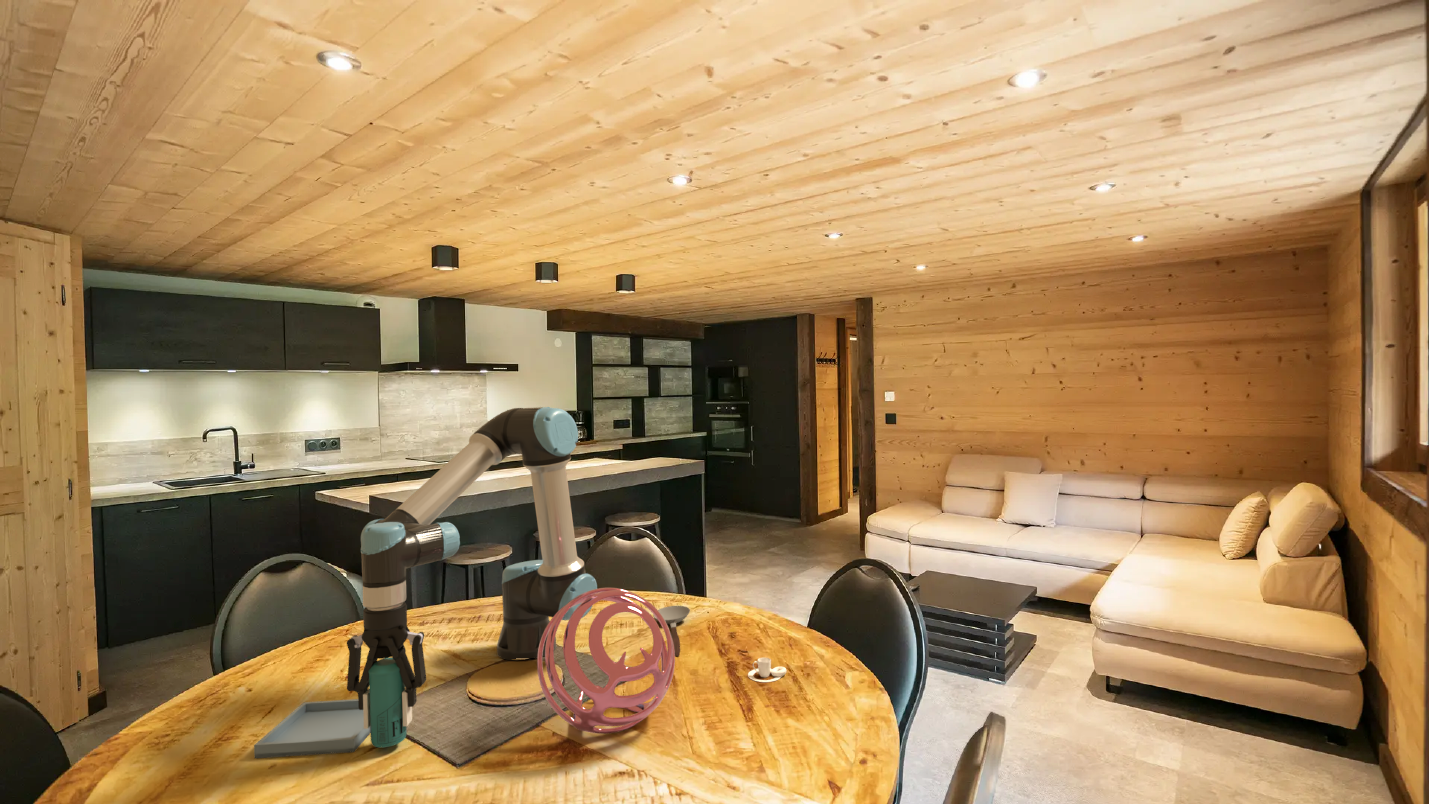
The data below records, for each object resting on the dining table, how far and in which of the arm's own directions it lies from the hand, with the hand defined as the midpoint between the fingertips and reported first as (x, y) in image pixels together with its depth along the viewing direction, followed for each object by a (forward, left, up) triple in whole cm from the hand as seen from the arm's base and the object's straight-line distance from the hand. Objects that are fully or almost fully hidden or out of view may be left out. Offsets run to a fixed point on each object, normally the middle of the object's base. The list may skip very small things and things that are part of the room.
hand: (388, 723), depth 130 cm
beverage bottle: (0, 0, -5) cm, 5 cm away
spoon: (-56, -54, -5) cm, 78 cm away
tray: (+15, -8, -4) cm, 18 cm away
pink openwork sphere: (-42, -4, -5) cm, 42 cm away
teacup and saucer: (-78, -21, -5) cm, 81 cm away
